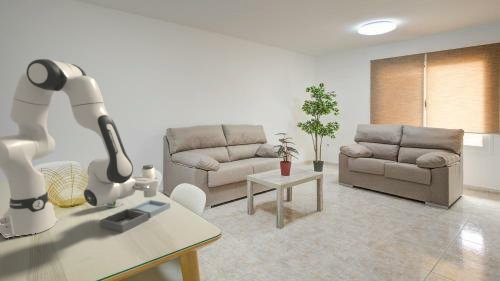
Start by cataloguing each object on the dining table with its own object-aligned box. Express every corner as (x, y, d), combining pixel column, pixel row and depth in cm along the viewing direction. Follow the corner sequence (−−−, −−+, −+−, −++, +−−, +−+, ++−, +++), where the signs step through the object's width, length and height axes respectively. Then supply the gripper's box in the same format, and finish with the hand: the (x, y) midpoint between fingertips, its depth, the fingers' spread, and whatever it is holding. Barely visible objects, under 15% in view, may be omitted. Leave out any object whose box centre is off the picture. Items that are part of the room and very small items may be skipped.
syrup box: (106, 206, 134) (103, 178, 133) (116, 202, 140) (113, 175, 138) (114, 208, 132) (112, 179, 130) (124, 203, 138) (122, 176, 136)
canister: (141, 196, 126) (138, 166, 124) (150, 193, 131) (148, 164, 129) (150, 198, 123) (147, 167, 122) (159, 194, 128) (156, 165, 127)
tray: (130, 213, 125) (130, 208, 125) (151, 204, 137) (150, 199, 136) (150, 217, 120) (150, 212, 120) (170, 207, 131) (170, 203, 131)
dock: (101, 226, 111) (100, 219, 111) (127, 215, 123) (127, 208, 123) (123, 232, 106) (122, 225, 105) (148, 219, 117) (148, 213, 117)
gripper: (142, 181, 110) (166, 173, 122) (108, 177, 119) (134, 170, 131) (143, 196, 111) (167, 187, 123) (110, 191, 119) (135, 182, 132)
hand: (150, 178), depth 127 cm, fingers closed on canister, 6 cm apart
